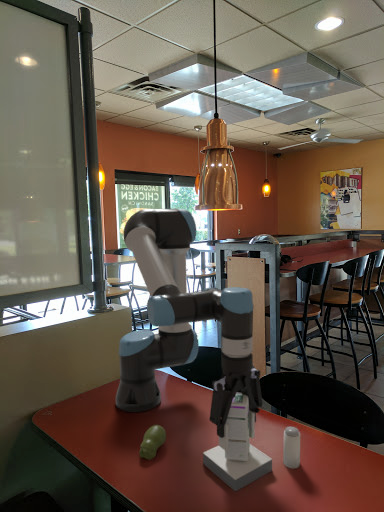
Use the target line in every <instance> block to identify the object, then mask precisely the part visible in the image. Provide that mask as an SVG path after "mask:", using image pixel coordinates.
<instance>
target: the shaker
mask: <svg viewBox="0 0 384 512" xmlns="http://www.w3.org/2000/svg"><path fill="white" fill-rule="evenodd" d="M282 458H283V459H282V460H283V465H284V466H285V467H286V468H289V469H297V468H298V469H299V467H300V464H301V432H300V430H299V429H298V428H297V427H295V426H286V427H285V429H284V431H283V457H282Z"/></svg>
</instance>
